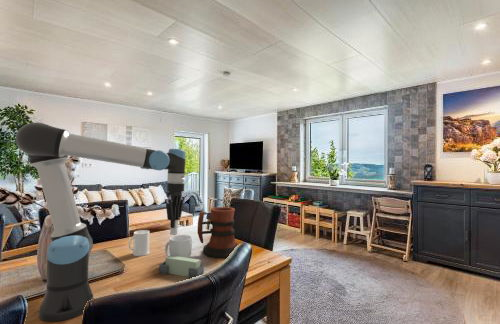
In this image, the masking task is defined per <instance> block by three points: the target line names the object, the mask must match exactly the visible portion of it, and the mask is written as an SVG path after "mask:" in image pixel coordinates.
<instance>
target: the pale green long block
mask: <svg viewBox="0 0 500 324" xmlns="http://www.w3.org/2000/svg"><path fill="white" fill-rule="evenodd" d="M165 261H166V265H168V274H170V275H171V274H172V275H176V276H183V277H187V278H188V276H189V268H190V269H198V268H199V267H200V264H201V259H198V258H197V259H196V258H192V257H190V258H185V257H179V256H172V255H170V256H166V257H165Z"/></svg>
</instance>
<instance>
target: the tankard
mask: <svg viewBox="0 0 500 324" xmlns="http://www.w3.org/2000/svg"><path fill="white" fill-rule="evenodd" d="M235 211H236V209H235V208H234V207H228V206H215V207H211V208H210V215H211V216H210V217H211V219H210V221H204V216H205V212H204V211H203V210H202V211H199V214H198V215H199V216H198V219H197V236H198V239H199V241H200V243H201V244H204V237H203V236H204V235H206V234H207V235H208V234H211V235H210V238H209V241H208V242H207V243H206V245H204V246H203V248H202V255H204V256H205V257H207V258H212V259H215V260H216V259H219V260H220V259H226V258H227V257H228V256H229V254H230V253H231V252H232V251H233V250H234V248H235V247H236V246H237V245H239V244H238V243H237V242H236V239H235V228H233V226H234V225H235V219H234V216H235ZM204 225H212V228H210V229H209V230H204V229H203V227H204ZM227 259H228V258H227Z"/></svg>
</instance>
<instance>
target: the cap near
mask: <svg viewBox="0 0 500 324" xmlns="http://www.w3.org/2000/svg"><path fill="white" fill-rule="evenodd" d="M204 268H205V265H204V264H201V263H200V267H199V268H198V269H190V268H189V276H188V277H187V278H188V279H192V277H196V276H199V275H202V274H203V275H204V273H205V271H204V270H205V269H204ZM203 275H202V276H203Z"/></svg>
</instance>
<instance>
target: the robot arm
mask: <svg viewBox="0 0 500 324" xmlns="http://www.w3.org/2000/svg"><path fill="white" fill-rule="evenodd" d="M15 142H16V145H17V147H18V148H19V149H20V150H21V152H23V153H25V154H26V155H27V158H28V162H29V164H30V166H31V167H34V168H35V169H36V171H37V174H38V178H39V181H40V185H41V188H42V192H43V195H44V198H45V202H46V206H47V210H48V212H49V213H48V214H49V215H50V220H51V224H52V226H53V232H52V233H51V234H50V240H51V242H50V244H49V245H48V247H47V251H46V258H47V259H46V290H45V291H46V292H45V293H44V296H43V299H42V302H41V305H40V306H39V309H38V310H39V311H38V318H39V319H40V320H41V321H42V322H43V321H44V322H48V321H51V322H52V321H54V322H61V321H66V320H70V319H73V318H76V317H78V316H80V315H83V314H84V313H83V310H84V307H85V305H86V303H87V301H89V300H91V299H93V300H94V294H93V292H92V288H91V286H90V284H89V261H90V255H91V252H92V249H93V246H94V245H93V243H94V242H93V241H94V240H93V238H92V236H91V235H90V233H89V229H88V226H87V223H86V224H85V223H83V222H81V218H80V215H79V214H80V213H79V211H78V207H77V204H76V203H77V202H76V200H75V196H74V193H73V189H72V184H71V182H70V178H69V174H68V170H67V166H66V162H67V161H68V159H69V157H73V158H80V159H81V158H82V159H87V160H93V161H94V160H95V161H100V162H101V161H102V162H106V163H113V164H117V165H118V164H119V165H125V166H131V167H136V168H137V167H138V168H140V169H141V170H142V169H143V170H154V171H164V170H167V179H166V182H167V185H166V191H167V192H168V198H167V199H166V198H164V202H165V208H166V209H165V210H166V216H167V217H166V218H167V220H168V221H170V227H169V228H170V230H169V231H170V233H169V235H170V236H171V235H172V236H176V235H178V226H179V225H178V223H179V221H180V220H181V218H182V212H183V208H184V201H185V196H183V194H182V193H183V192H184V191H185V184H184V183H185V177H186V176H185V172H186V171H185V170H186V151H185V150H184V149H182V148H169V149H168V152H165V151H162V150H155V149H150V148H145V147H140V146H136V145H135V146H134V145H130V144H125V143H120V142H115V141H109V140H104V139H99V138H95V137H90V136H84V135H80V134H79V135H78V134H74V133H70V132H69V130H67V129H65V128H64V129H63V128H59V127H54V126H52V125H49V124H47V123H44V122H30V123H27V124H24V125H23V126H21V127H20V128H19V129H18V131H17V132H16V135H15Z"/></svg>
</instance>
